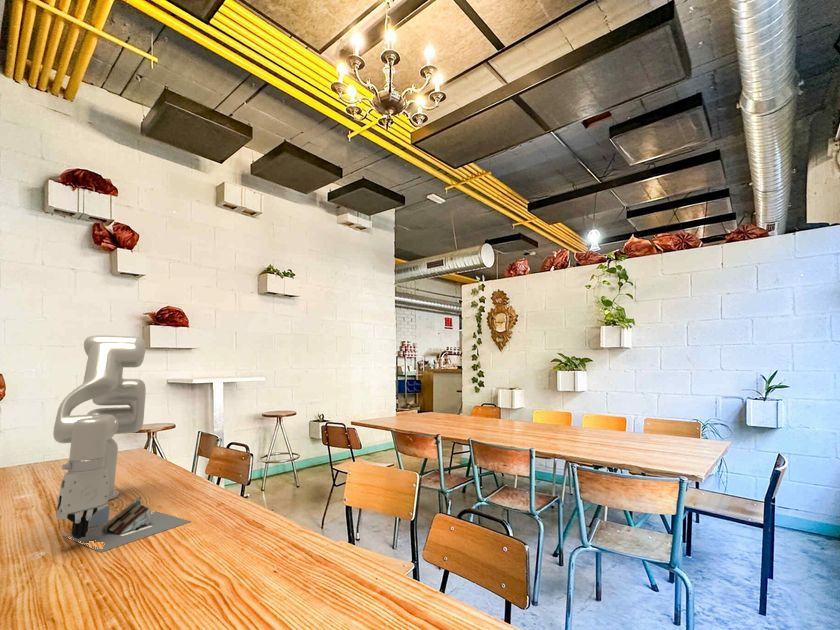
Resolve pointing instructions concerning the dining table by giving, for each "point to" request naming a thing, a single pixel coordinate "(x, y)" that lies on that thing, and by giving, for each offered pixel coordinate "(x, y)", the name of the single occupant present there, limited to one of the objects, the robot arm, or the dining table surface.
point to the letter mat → (130, 532)
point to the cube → (99, 517)
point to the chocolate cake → (129, 518)
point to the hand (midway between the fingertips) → (79, 536)
